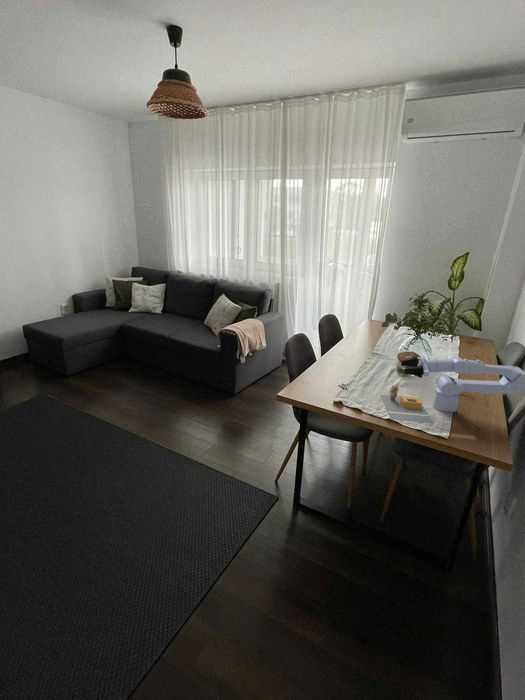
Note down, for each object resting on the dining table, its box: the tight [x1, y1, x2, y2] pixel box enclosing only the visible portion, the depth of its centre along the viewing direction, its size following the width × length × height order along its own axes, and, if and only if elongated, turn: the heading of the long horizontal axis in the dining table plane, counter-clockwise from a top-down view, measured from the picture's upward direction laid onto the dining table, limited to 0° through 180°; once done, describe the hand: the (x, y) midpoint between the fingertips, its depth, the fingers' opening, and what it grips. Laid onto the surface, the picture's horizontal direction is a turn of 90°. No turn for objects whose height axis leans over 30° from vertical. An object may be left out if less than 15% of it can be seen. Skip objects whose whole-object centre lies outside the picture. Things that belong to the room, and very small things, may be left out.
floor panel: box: [379, 394, 434, 425], centre depth 155 cm, size 18×22×1 cm
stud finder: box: [400, 395, 423, 409], centre depth 157 cm, size 8×5×3 cm, turn 83°
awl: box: [389, 384, 399, 401], centre depth 161 cm, size 3×3×7 cm
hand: (402, 366), depth 154 cm, fingers open, 7 cm apart
